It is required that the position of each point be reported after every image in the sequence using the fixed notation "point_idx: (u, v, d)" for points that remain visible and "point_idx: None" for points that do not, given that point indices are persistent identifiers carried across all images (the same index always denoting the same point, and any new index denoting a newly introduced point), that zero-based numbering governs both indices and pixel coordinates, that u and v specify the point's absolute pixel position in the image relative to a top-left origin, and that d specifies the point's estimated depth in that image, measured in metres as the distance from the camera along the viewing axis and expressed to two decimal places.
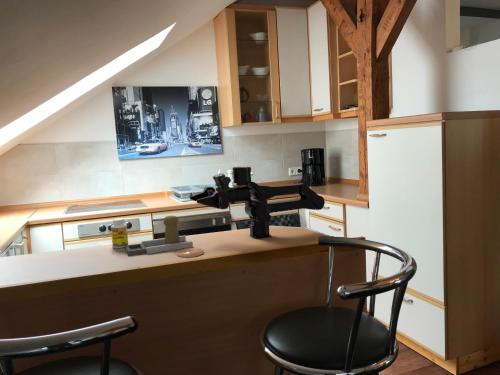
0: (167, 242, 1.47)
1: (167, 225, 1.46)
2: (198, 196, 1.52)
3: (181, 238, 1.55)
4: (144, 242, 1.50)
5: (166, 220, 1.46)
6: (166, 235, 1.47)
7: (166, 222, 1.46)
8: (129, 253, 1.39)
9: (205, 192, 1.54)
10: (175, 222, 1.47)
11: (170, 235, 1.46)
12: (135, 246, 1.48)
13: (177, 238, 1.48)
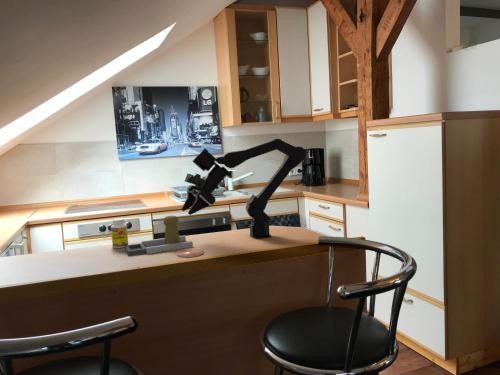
0: (167, 242, 1.47)
1: (167, 225, 1.46)
2: (187, 202, 1.55)
3: (181, 238, 1.55)
4: (144, 242, 1.50)
5: (166, 220, 1.46)
6: (166, 235, 1.47)
7: (166, 222, 1.46)
8: (129, 253, 1.39)
9: (190, 195, 1.55)
10: (175, 222, 1.47)
11: (170, 235, 1.46)
12: (135, 246, 1.48)
13: (177, 238, 1.48)
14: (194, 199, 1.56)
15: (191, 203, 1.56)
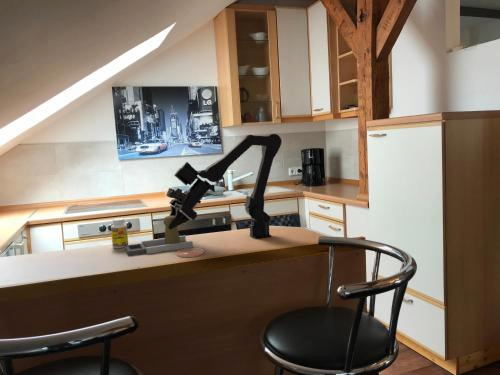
0: (167, 242, 1.47)
1: (167, 225, 1.46)
2: None
3: (181, 238, 1.55)
4: (144, 242, 1.50)
5: (166, 220, 1.46)
6: (166, 235, 1.47)
7: (166, 222, 1.46)
8: (129, 253, 1.39)
9: (173, 210, 1.52)
10: None
11: (170, 235, 1.46)
12: (135, 246, 1.48)
13: (177, 238, 1.48)
14: None
15: None
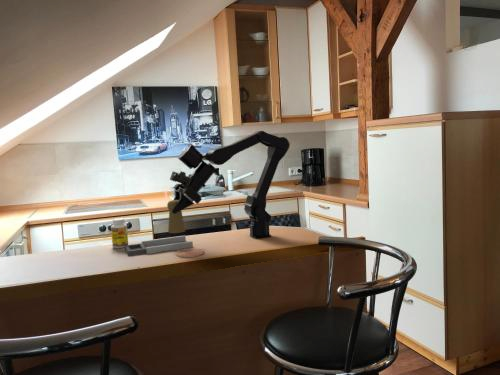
0: (171, 227, 1.43)
1: (171, 209, 1.43)
2: None
3: (181, 238, 1.55)
4: (144, 242, 1.50)
5: (170, 204, 1.43)
6: (170, 220, 1.44)
7: (170, 206, 1.43)
8: (129, 253, 1.39)
9: (177, 194, 1.48)
10: None
11: (174, 220, 1.43)
12: (135, 246, 1.48)
13: (181, 223, 1.44)
14: None
15: None
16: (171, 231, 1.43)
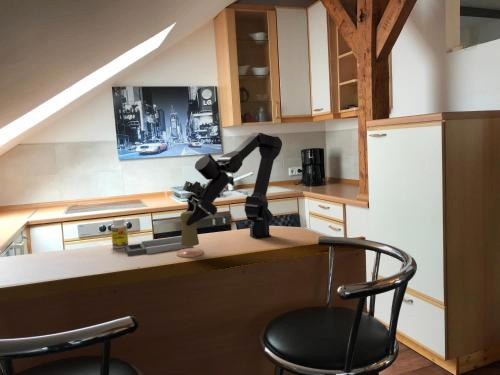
0: (184, 240, 1.36)
1: (184, 221, 1.35)
2: None
3: None
4: (144, 242, 1.50)
5: (183, 216, 1.35)
6: (183, 232, 1.36)
7: (183, 218, 1.35)
8: (129, 253, 1.39)
9: (190, 205, 1.41)
10: None
11: (188, 232, 1.36)
12: (135, 246, 1.48)
13: (195, 235, 1.37)
14: None
15: None
16: (184, 244, 1.36)
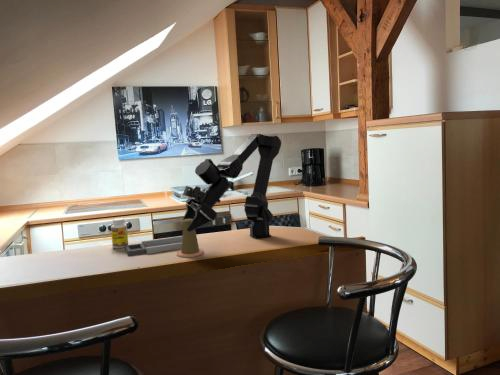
0: (185, 247, 1.36)
1: (185, 229, 1.36)
2: (186, 217, 1.42)
3: (181, 238, 1.55)
4: (144, 242, 1.50)
5: (184, 224, 1.35)
6: (184, 240, 1.36)
7: (184, 226, 1.35)
8: (129, 253, 1.39)
9: (189, 209, 1.42)
10: None
11: (188, 240, 1.36)
12: (135, 246, 1.48)
13: (195, 243, 1.37)
14: (194, 213, 1.43)
15: (191, 218, 1.42)
16: (185, 252, 1.36)
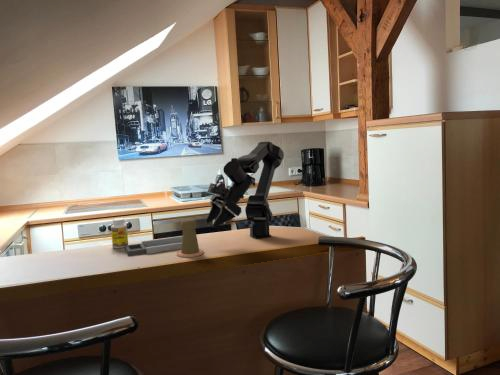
0: (185, 247, 1.36)
1: (185, 229, 1.36)
2: (211, 214, 1.46)
3: (181, 238, 1.55)
4: (144, 242, 1.50)
5: (184, 224, 1.35)
6: (184, 240, 1.36)
7: (184, 226, 1.35)
8: (129, 253, 1.39)
9: (214, 206, 1.46)
10: (193, 226, 1.36)
11: (188, 240, 1.36)
12: (135, 246, 1.48)
13: (195, 243, 1.37)
14: (218, 210, 1.47)
15: (215, 214, 1.46)
16: (185, 252, 1.36)
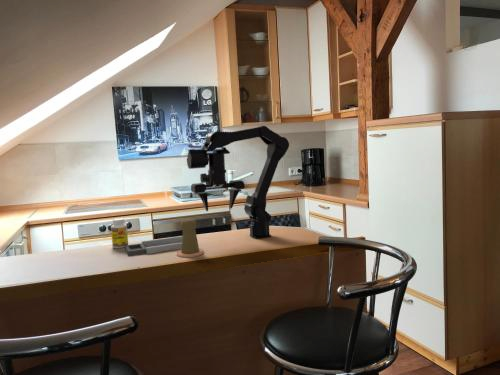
0: (185, 247, 1.36)
1: (185, 229, 1.36)
2: (230, 199, 1.53)
3: (181, 238, 1.55)
4: (144, 242, 1.50)
5: (184, 224, 1.35)
6: (184, 240, 1.36)
7: (184, 226, 1.35)
8: (129, 253, 1.39)
9: (229, 191, 1.53)
10: (193, 226, 1.36)
11: (188, 240, 1.36)
12: (135, 246, 1.48)
13: (195, 243, 1.37)
14: (232, 192, 1.51)
15: (231, 197, 1.51)
16: (185, 252, 1.36)
